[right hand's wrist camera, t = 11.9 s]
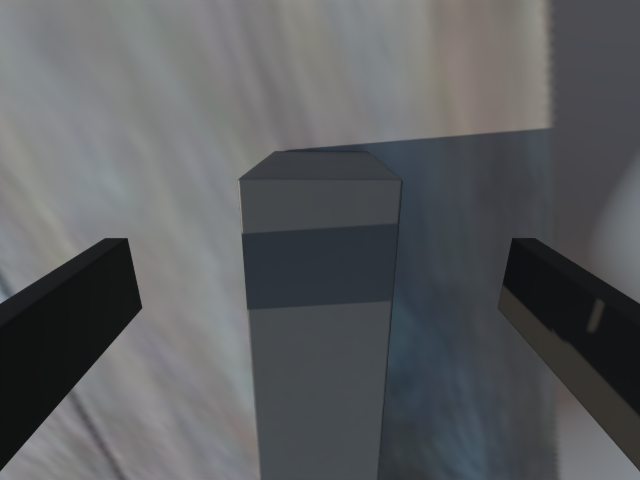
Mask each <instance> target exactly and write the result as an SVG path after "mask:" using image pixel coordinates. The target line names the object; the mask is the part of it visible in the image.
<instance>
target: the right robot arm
mask: <svg viewBox="0 0 640 480" xmlns="http://www.w3.org/2000/svg"><path fill="white" fill-rule="evenodd" d="M141 309H142V304H141V300H140V295H139V290H138V285H137V281H136V276H135V271H134V266H133V262H132V257H131V252H130V247H129V243H128V238H105V239H103V240H101V241H100V242H98V243H97V244H95V245H93V246H92V247H90V248H89V249H87V250H85V251H84V252H82V253H81V254H79V255H78V256H76V257H74V258H73V259H71V260H70V261H68V262H66V263H65V264H63V265H62V266H60V267H58V268H57V269H55V270H54V271H52V272H50V273H49V274H47V275H46V276H44V277H42V278H41V279H39V280H38V281H36V282H34V283H33V284H31V285H30V286H28V287H26V288H25V289H23V290H22V291H20V292H18V293H17V294H15V295H14V296H12V297H10V298H9V299H7V300H6V301H4V302H2V303H1V304H0V471H1V470H2V469H3V468H4V466H5V465H6V464H7V463H8V462H9V461H10V460H11V458H12V457H13V456H14V455H15V454H16V453H17V451H18V450H19V449H20V448H21V447H22V446H23V445H24V443H25V442H26V441H27V440H28V439H29V438H30V437H31V435H32V434H33V433H34V432H35V431H36V430H37V428H38V427H39V426H40V425H41V424H42V423H43V422H44V420H45V419H46V418H47V417H48V416H49V415H50V414H51V412H52V411H53V410H54V409H55V408H56V407H57V405H58V404H59V403H60V402H61V401H62V400H63V399H64V397H65V396H66V395H67V394H68V393H69V392H70V391H71V389H72V388H73V387H74V386H75V385H76V384H77V382H78V381H79V380H80V379H81V378H82V377H83V376H84V374H85V373H86V372H87V371H88V370H89V369H90V368H91V366H92V365H93V364H94V363H95V362H96V361H97V359H98V358H99V357H100V356H101V355H102V354H103V353H104V351H105V350H106V349H107V348H108V347H109V346H110V345H111V343H112V342H113V341H114V340H115V339H116V338H117V336H118V335H119V334H120V333H121V332H122V331H123V330H124V328H125V327H126V326H127V325H128V324H129V323H130V322H131V320H132V319H133V318H134V317H135V316H136V315H137V314H138V312H139V311H140V310H141ZM498 309H499V310H500V311H501V312H502V314H503V315H504V316H505V317H506V318H507V319H508V320H509V322H510V323H511V324H512V325H513V326H514V327H515V328H516V330H517V331H518V332H519V333H520V334H521V335H522V337H523V338H524V339H525V340H526V341H527V342H528V343H529V345H530V346H531V347H532V348H533V349H534V350H535V351H536V353H537V354H538V355H539V356H540V357H541V358H542V359H543V361H544V362H545V363H546V364H547V365H548V366H549V368H550V369H551V370H552V371H553V372H554V373H555V374H556V376H557V377H558V378H559V379H560V380H561V381H562V382H563V384H564V385H565V386H566V387H567V388H568V389H569V391H570V392H571V393H572V394H573V395H574V396H575V397H576V399H577V400H578V401H579V402H580V403H581V404H582V405H583V407H584V408H585V409H586V410H587V411H588V412H589V414H590V415H591V416H592V417H593V418H594V419H595V420H596V422H597V423H598V424H599V425H600V426H601V427H602V428H603V430H604V431H605V432H606V433H607V434H608V435H609V437H610V438H611V439H612V440H613V441H614V442H615V443H616V445H617V446H618V447H619V448H620V449H621V450H622V451H623V453H624V454H625V455H626V456H627V457H628V458H629V460H630V461H631V462H632V463H633V464H634V465H635V466H636V467H637V469H638V470H639V471H640V304H639V303H637V302H636V301H634V300H633V299H631V298H630V297H628V296H626V295H625V294H623V293H621V292H620V291H618V290H617V289H615V288H614V287H612V286H610V285H609V284H607V283H606V282H604V281H602V280H601V279H599V278H598V277H596V276H594V275H593V274H591V273H590V272H588V271H586V270H585V269H583V268H582V267H580V266H578V265H577V264H575V263H574V262H572V261H570V260H569V259H567V258H566V257H564V256H562V255H561V254H559V253H558V252H556V251H555V250H553V249H551V248H550V247H548V246H547V245H545V244H543V243H542V242H540V241H539V240H537V239H535V238H512V243H511V247H510V252H509V257H508V262H507V266H506V271H505V276H504V281H503V285H502V290H501V295H500V300H499V304H498Z"/></svg>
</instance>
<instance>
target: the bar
mask: <svg viewBox="0 0 640 480" xmlns="http://www.w3.org/2000/svg"><path fill="white" fill-rule="evenodd" d="M402 184H403V182H402V179H400V178H399V177H398V176H397V175H395V174H394V173H393V172H392V171H391V170H389V169H388V168H387V167H386V166H385V165H383V164H382V163H381V162H380V161H379V160H377V159H376V158H375V157H374V156H373V155H371V154H370V153H369V152H303V151H275V152H273V153H272V154H271V155H269V156H268V157H267V158H265V159H264V160H263V161H261V162H260V163H259V164H257V165H256V166H255V167H253V168H252V169H251V170H250V171H248V172H247V173H246V174H244V175H243V176H242V177H240V178H239V179H238V192H239V205H240V219H241V232H242V245H243V259H244V272H245V285H246V299H247V312H248V325H249V339H250V352H251V365H252V379H253V392H254V405H255V419H256V432H257V445H258V459H259V472H260V480H378V474H379V462H380V450H381V438H382V426H383V414H384V401H385V389H386V377H387V365H388V353H389V341H390V329H391V317H392V305H393V293H394V280H395V268H396V256H397V244H398V232H399V220H400V208H401V196H402Z"/></svg>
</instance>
